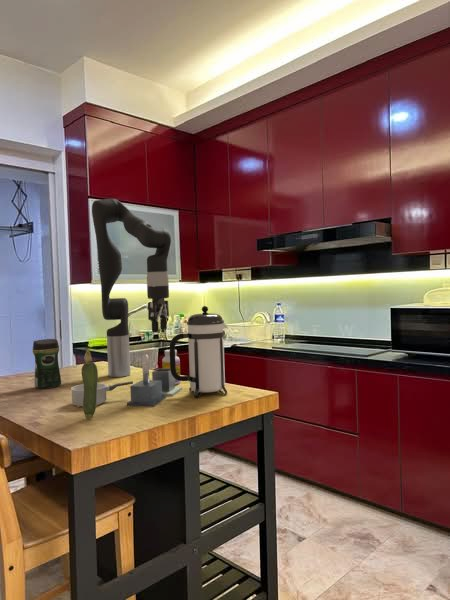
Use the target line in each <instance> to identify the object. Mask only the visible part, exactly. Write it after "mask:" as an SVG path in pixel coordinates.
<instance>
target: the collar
mask: <svg viewBox="0 0 450 600" xmlns="http://www.w3.org/2000/svg"><path fill="white" fill-rule="evenodd" d="M151 377H152V378H151V379H152V380H160V381H162V392H170V391H172V390H173V389H175V387H176V385H175V378H174V377H173V376H172V374H171V370H170V369H163V368H156V369H155V370H153V371H152V372H151Z"/></svg>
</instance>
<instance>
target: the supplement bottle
mask: <svg viewBox="0 0 450 600" xmlns="http://www.w3.org/2000/svg"><path fill="white" fill-rule="evenodd" d="M177 354H178V351H177V349H175V366H176V373H177V374H178V375H179V376H181V362H180V361H181V360H180V357H179V356H177ZM161 361H162V362H161V363H162V369H170V349H166V350H165V349H164V357H163V358H162V360H161ZM180 383H181V381H179V380H176V379H175V386H177V385H179V384H180Z"/></svg>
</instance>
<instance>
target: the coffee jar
mask: <svg viewBox="0 0 450 600" xmlns="http://www.w3.org/2000/svg"><path fill="white" fill-rule="evenodd" d="M59 352H60V345H59V342H58V340H57V339H56V338H46V339H45V338H43V339H38V340H34V341H33V344H32V353H33V355H34V388H36V389H51V388H55V387H59V386H61V385H62V376H61V371H60V365H59V357H58V356H59Z"/></svg>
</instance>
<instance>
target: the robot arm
mask: <svg viewBox="0 0 450 600" xmlns="http://www.w3.org/2000/svg"><path fill="white" fill-rule="evenodd" d="M91 216H92V221H93V226H94V234H95V237H96V239H95V240H96V249H97V262H98V269H99V270H98V273H99V278H100V279H99V281H100V288H101V291H100V292H101V313H102V317H103V319H104V320H106V321H115V320H116V321H117V320H118V321H119V320H120V322H119V323H118V324H116V325H115V326H112V327H110V328H108V329H106V347H107V349H106V350H107V352H106V353H107V369H108V370H107V371H108V372H107V374H108V377H110V378H121V377H127V376H130V375H131V354H130V352H131V351H130V339H129V338H130V335H129V334H130V332H129V331H130V330H129V303H128V299H127V298H125V297H121V298H120V297H117V298H116V297H115V298H114V297H113V298H110V294H111V291H112V289H113V286H114V285H115V283H116V282H117V280H118V279H119V277H120V275H121V273H122V269H123V263H122V255H121V254H122V253H121V252H120V250H119V248H118V247H117V246H116V245H115V243H114V242H113V241H112V239H111V238H110V236H109V233H108V229H107V228H108V227H107V224H112V223H116V222H120V223H121V222H122V223H123V227H124V229H125V232H127V233H128V234H129V235H131V236H132V237H134V238H136V239H137V240H138V241H139V243H140V244H141V245H142V246H143V247H145V248H149V249H156V250H155V253H154V254H152V255H149V256H147V258H146V272H147V273H146V289H147V291H146V292H147V298H148V299H149V300H151V302H150V301H149V302H148V303H147V306H148V307H147V314H148V316H147V317H148V321H150V322H151V332H152V333H159V331H160V330H167V328H168V324H167V321H168V317H170V313H169V312H170V311H169V300H168V299H169V297H170V292H169V290H170V289H169V275H168V258H169V254H170V248H171V245H172V237H171V234H170V232H169V231H168V229H166V228H161V227H159V228H158V227H152V225H151V224H150V223H149V222H148V221H146V220H144V219H142V218H141V217H139V216H137V215H135V214H134V213H133V212H132V211H131V210H130V209H129V208H128V207H127V206H126V205H124V204H123V203H122V202H121V201H119V200H118V199H116V198H106V199H105V198H104V199H96V200H93V202H92V204H91ZM165 299H167V300H165ZM159 321H160V323H159ZM159 324H160V327H159ZM159 329H160V330H159Z"/></svg>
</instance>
